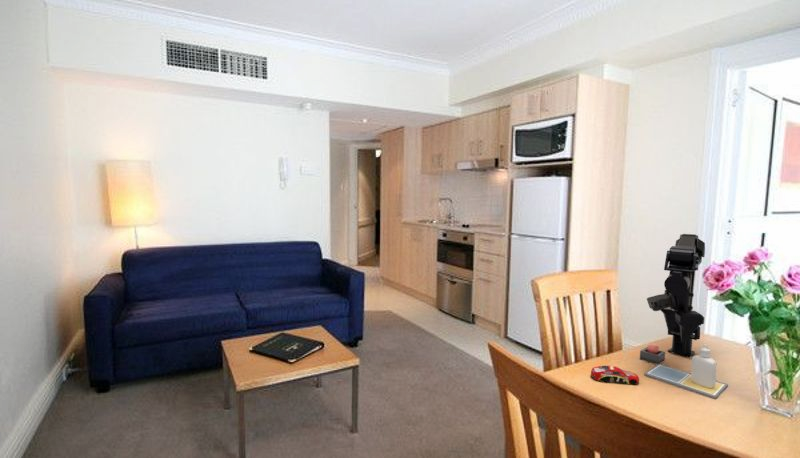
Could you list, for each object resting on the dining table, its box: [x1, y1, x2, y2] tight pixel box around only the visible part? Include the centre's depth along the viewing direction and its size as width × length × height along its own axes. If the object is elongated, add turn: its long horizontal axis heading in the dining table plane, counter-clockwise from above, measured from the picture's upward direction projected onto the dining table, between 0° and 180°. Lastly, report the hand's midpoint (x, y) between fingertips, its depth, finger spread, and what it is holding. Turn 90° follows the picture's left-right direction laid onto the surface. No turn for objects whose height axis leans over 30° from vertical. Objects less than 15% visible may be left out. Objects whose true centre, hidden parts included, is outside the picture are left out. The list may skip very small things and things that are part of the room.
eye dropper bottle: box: [690, 343, 717, 388], centre depth 115 cm, size 4×6×12 cm
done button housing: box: [639, 346, 666, 365], centre depth 134 cm, size 6×6×3 cm
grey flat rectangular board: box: [643, 363, 729, 400], centre depth 119 cm, size 12×18×1 cm, turn 38°
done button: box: [646, 344, 660, 354], centre depth 134 cm, size 3×3×2 cm
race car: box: [590, 365, 640, 386], centre depth 120 cm, size 13×5×4 cm, turn 78°
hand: (676, 336), depth 125 cm, fingers open, 9 cm apart
